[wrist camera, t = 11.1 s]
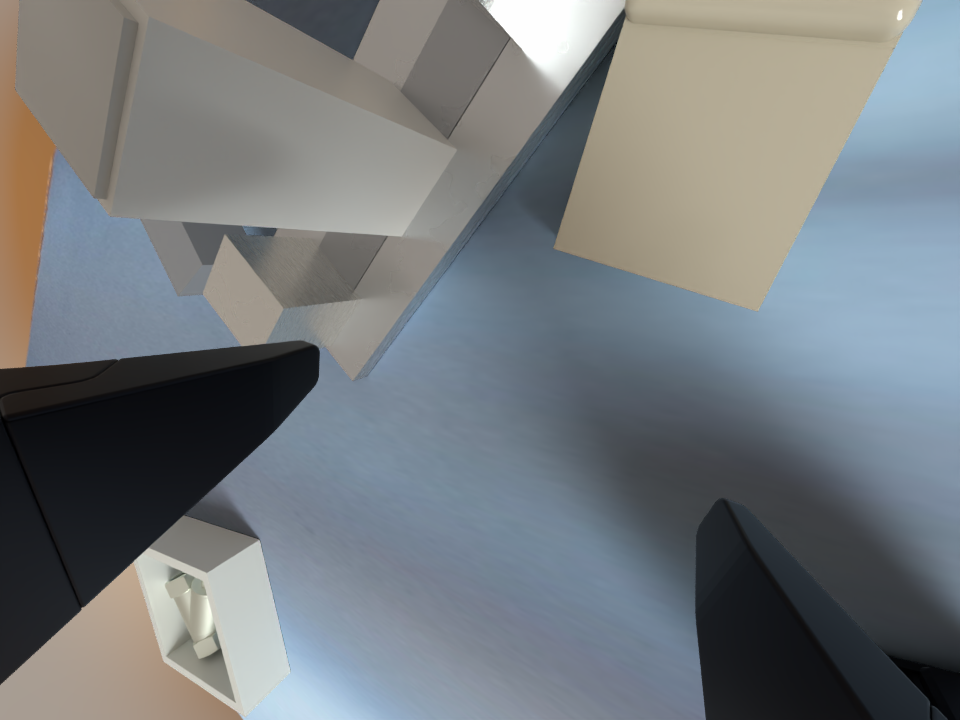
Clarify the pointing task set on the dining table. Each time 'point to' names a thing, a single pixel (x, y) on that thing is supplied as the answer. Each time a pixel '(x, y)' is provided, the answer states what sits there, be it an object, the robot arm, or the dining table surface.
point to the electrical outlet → (722, 135)
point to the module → (223, 117)
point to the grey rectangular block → (188, 250)
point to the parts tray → (217, 611)
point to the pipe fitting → (195, 612)
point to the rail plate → (458, 192)
